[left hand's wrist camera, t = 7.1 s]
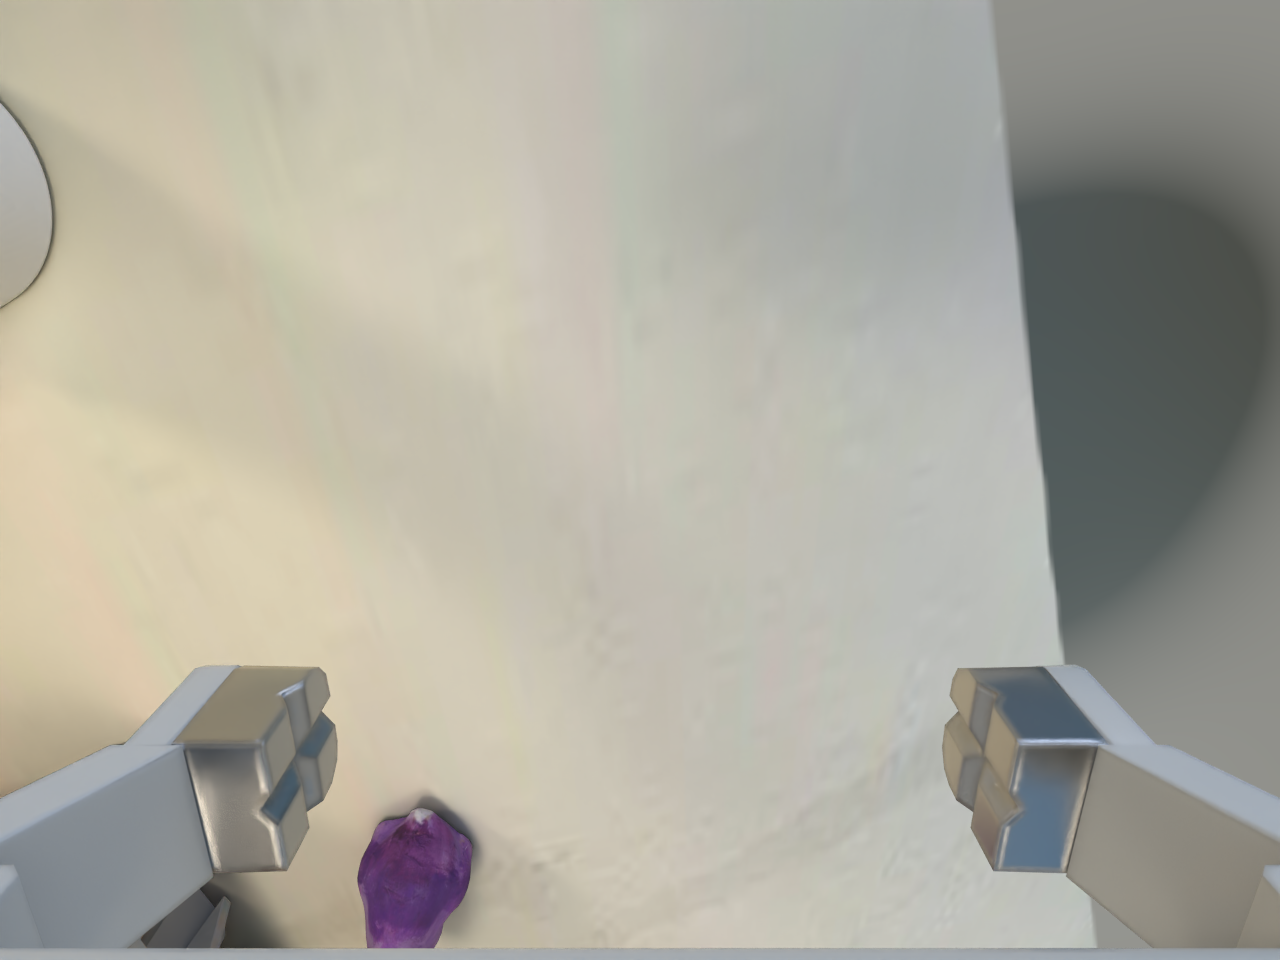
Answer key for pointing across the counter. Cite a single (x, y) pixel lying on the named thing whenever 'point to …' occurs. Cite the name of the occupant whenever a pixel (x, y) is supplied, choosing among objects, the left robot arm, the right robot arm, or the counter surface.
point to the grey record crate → (189, 925)
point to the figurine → (412, 880)
